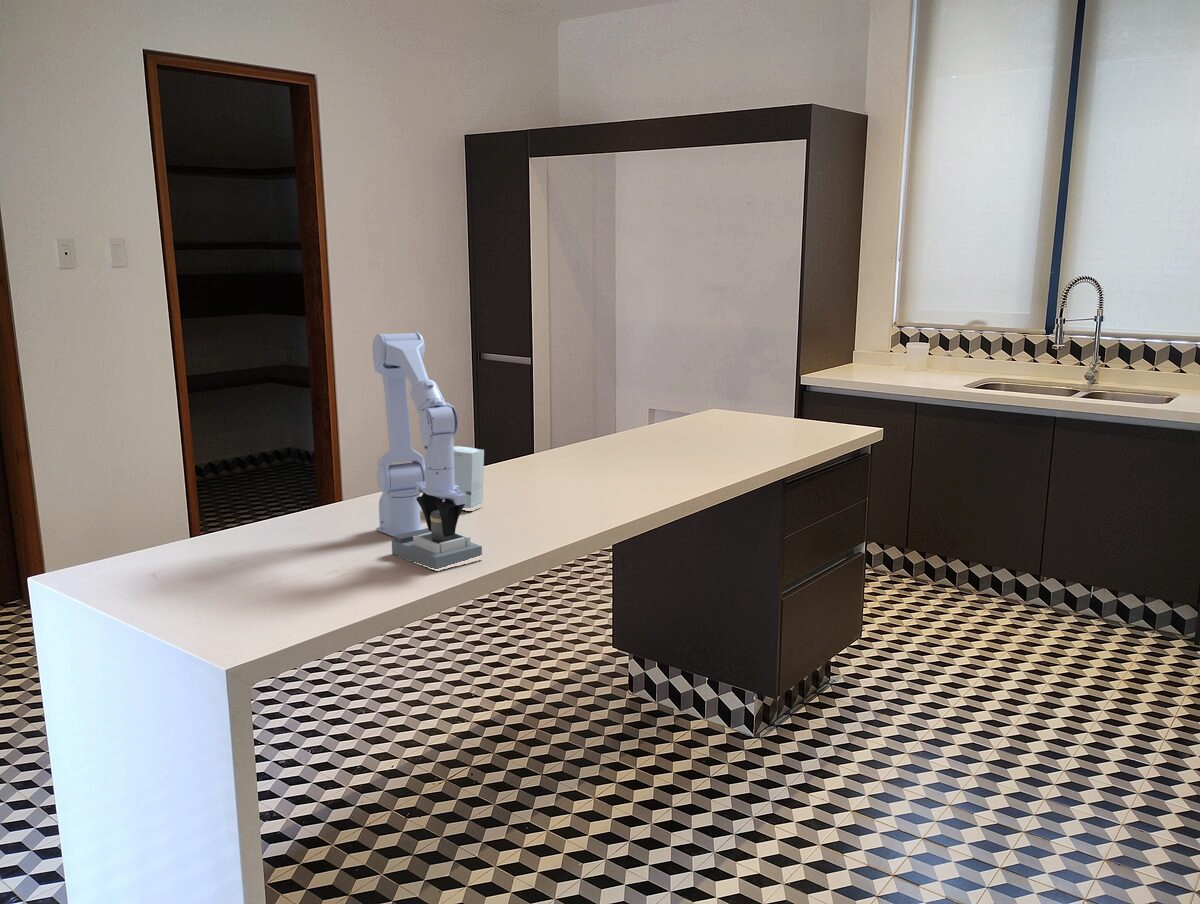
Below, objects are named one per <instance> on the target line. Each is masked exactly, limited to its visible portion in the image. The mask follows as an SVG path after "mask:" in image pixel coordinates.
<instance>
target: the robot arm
mask: <svg viewBox="0 0 1200 904" xmlns="http://www.w3.org/2000/svg"><path fill="white" fill-rule="evenodd" d="M371 346H372V347H371V348H372V357H373V358H372V361H373V366H374V371H375V373H378V374H380V375H381V377H382V381H383V390H384V402H385V405H384V406H385V413H386V415H385V416H386V423H387V424H386V425H387V436H388V437H387V438H388V448H389V449H388V450H387V451H386V452H385V453H384V454H383V455H381V456H380V458H378V461H377V473H376V474H377V475H376V478H377V479H376V480H377V486H378V488H379V491H380V492H381V493H382V494H381V495H380V497H379V500H378V515H379V516H378V517H379V518H378V519H379V526H378V527H376V528H375V529H376V531H378V532H381V533H383V534H386V535H388V536H391V537H393V536H394V535H399V534H403V533H408V532H412V531H417V530H421V529H426V527H423V526H421V525H422V524H421V511H422V514H423V515H424V519H425V522H426V526H427V528H428V529H429V531H431V520H430V515H431V512H432V511H435V510H439V513H440V516H441V521H442V529H443V534H444V536H445V537H448V536H452V535H454V533H455V532H456V529H457V524H458V520H459V517H460V515H461V512H463V511H462V509H463V507H464V506H465V504H466V494H464V493H462V492H460V491H459V490H458V489H459V486H457V485H455V481H454V445H455V443H454V435H456V434H457V432H458V429H459V417H458V413H457V411H456V408H455V407H454V405H452V404H450V403H449V402H447V401H446V400H445V398H444V397H443V395H442V393H441V392H442V391H440V388H439V386H438V384H437V382H435V381H434V380H432V379H429V376H428V373H427V371H426V367H425V363H424V356H425V353H426V345H425V340H424V337H423V335H422V334H421V333H419V332H418V331H415V332H407V333H405V332H404V333H376V334H375V336H374V338H373V342H372V345H371ZM406 379H407V380H408V382H409V384H410V385H411V389H410V391H409V394H410V395H409V396H410V397H411V399H412V402H413V404H414V406H415V408H416V410H417V413H418V416H419V417H418V425H419V426H418V427H419V431H420V434H421V444H422V445H424V446H423V447H424V456H423V455H422V454H421V453H419V452H418V451H416V450H415V449H413V446H412V436H411V435H412V434H411V423H410V412H409V402H408V390H407V380H406ZM403 462H404V463H403ZM394 463H395V464H394ZM397 463H398V464H397ZM420 494H422V495H420ZM443 499H444V500H445V502H443Z"/></svg>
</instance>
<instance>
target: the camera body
mask: <svg viewBox="0 0 1200 904" xmlns="http://www.w3.org/2000/svg"><path fill="white" fill-rule="evenodd" d="M455 537H456V539H454V540H449V541H445V542H441V543H439V544H438V543H435V542H432V539H431V531H429V529H428V527H425V529H421V530H417V531H412V532H408V533H403V534H399V535H394V536H392V539H391V554H392V553H393V554H395V555H394V556H396V555H398V556H400V557H399V558H401V557H403V558H405V559H408V560H411V561H413V562H416V563H419V564H422V565H425V566H428V567H430V568H434V569H439V568H442V567H446V566H448V565H451V564H455V563H458V562H461V561H465V560H468V559H470V558H474V557H477V556H480V555H482V556H483V546H482V545H480V544H477V543H474V542H472V541H471V536H470V535H466V534H463V533H460V532H458V531H455ZM393 554H392V555H393ZM398 556H397V557H398ZM403 558H402V559H403ZM405 559H404V560H405ZM408 560H407V561H408ZM413 562H412V563H413Z"/></svg>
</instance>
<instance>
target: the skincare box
mask: <svg viewBox="0 0 1200 904" xmlns="http://www.w3.org/2000/svg"><path fill="white" fill-rule="evenodd" d="M484 464H485V450H484V449H481V448H480V449H479V448H474V447H470V446H469V447H468V446H459V445H455V446H454V481H455V485H457V486H459V489H458V490H459V491H460V492H462V493H464V494H466V504H465V506H464V507H463V508H473V507H475V506H477V505H478V504H481V503H482V502H483V503H484V477H485V476H484V475H485V474H484V473H485V472H484V470H485V469H484V468H485V467H484V466H485V465H484ZM443 502H445V500H444V499H443Z"/></svg>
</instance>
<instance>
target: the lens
mask: <svg viewBox="0 0 1200 904" xmlns="http://www.w3.org/2000/svg"><path fill="white" fill-rule="evenodd" d="M430 520H431V539H432V542H435V543H438V544H439V543H441V542H445V541H449V540H454V539H456V537H455V533H454V535H452V536H448V537H445V536H444V534H443V529H442V521H441V516H440V513H439V510H435V511H432V512H431V515H430Z"/></svg>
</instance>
